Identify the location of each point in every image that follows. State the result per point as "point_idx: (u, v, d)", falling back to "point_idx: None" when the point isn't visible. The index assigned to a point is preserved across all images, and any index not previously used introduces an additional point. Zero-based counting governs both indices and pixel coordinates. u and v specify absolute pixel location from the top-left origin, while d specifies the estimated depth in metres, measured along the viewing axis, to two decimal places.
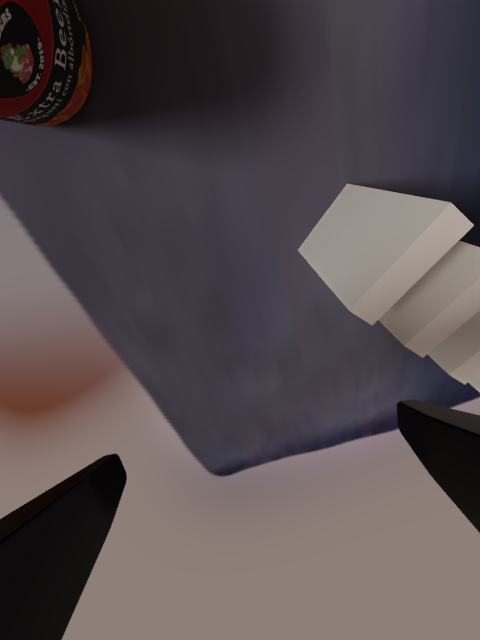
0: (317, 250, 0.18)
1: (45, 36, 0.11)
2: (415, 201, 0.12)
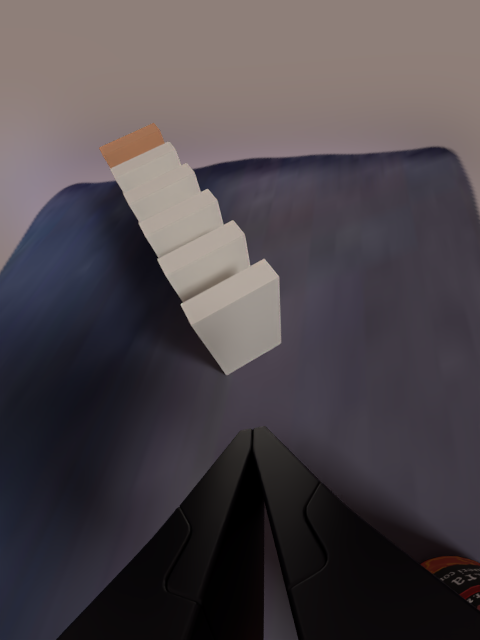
0: (270, 335, 0.21)
1: None
2: (204, 337, 0.16)
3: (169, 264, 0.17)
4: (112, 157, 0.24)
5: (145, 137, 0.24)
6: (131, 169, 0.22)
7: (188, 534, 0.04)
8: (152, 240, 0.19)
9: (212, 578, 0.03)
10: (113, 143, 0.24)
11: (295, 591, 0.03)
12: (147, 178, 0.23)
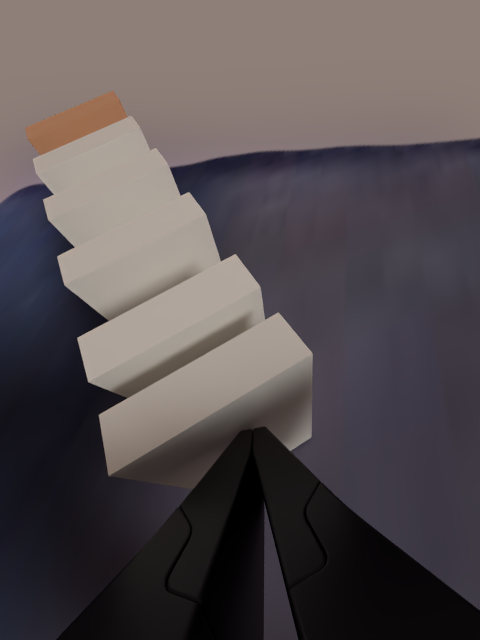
0: (293, 435, 0.12)
1: None
2: (156, 478, 0.08)
3: (100, 352, 0.08)
4: (44, 142, 0.15)
5: (97, 111, 0.16)
6: (64, 159, 0.13)
7: (188, 534, 0.04)
8: (82, 289, 0.10)
9: (212, 578, 0.03)
10: (48, 121, 0.16)
11: (295, 591, 0.03)
12: None
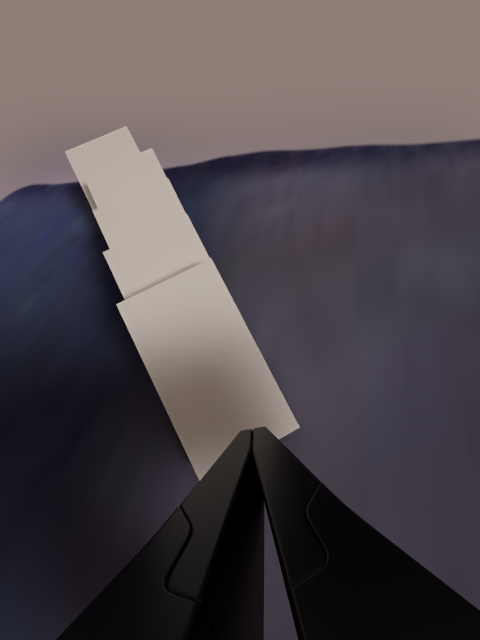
0: (255, 384, 0.14)
1: None
2: (135, 334, 0.14)
3: None
4: None
5: None
6: (82, 145, 0.23)
7: (188, 534, 0.04)
8: (99, 215, 0.18)
9: (212, 578, 0.03)
10: None
11: (295, 591, 0.03)
12: (96, 151, 0.23)
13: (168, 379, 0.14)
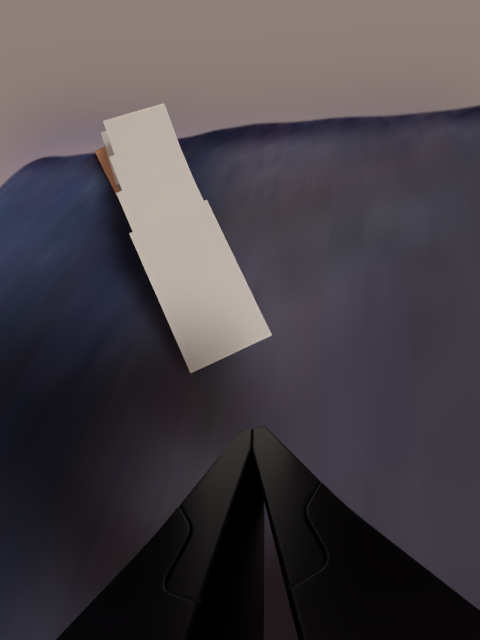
0: (237, 300, 0.17)
1: None
2: (143, 257, 0.17)
3: None
4: (100, 150, 0.31)
5: None
6: None
7: (188, 534, 0.04)
8: (114, 161, 0.21)
9: (212, 578, 0.03)
10: None
11: (295, 591, 0.03)
12: None
13: (168, 293, 0.17)
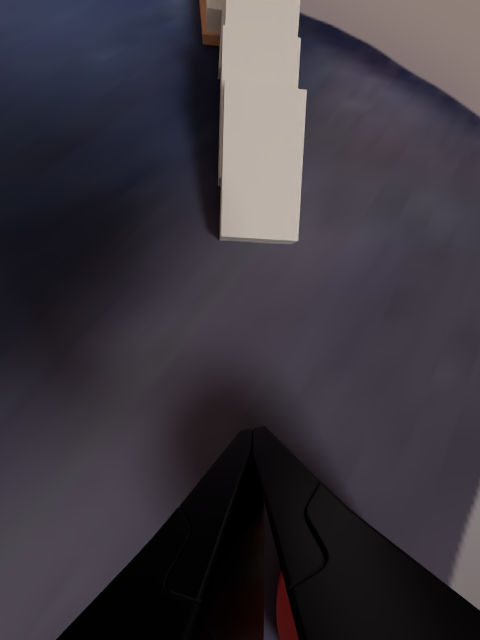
0: (286, 197, 0.19)
1: None
2: (227, 110, 0.18)
3: None
4: None
5: None
6: None
7: (188, 534, 0.04)
8: None
9: (212, 578, 0.03)
10: None
11: (295, 590, 0.03)
12: None
13: (233, 157, 0.18)
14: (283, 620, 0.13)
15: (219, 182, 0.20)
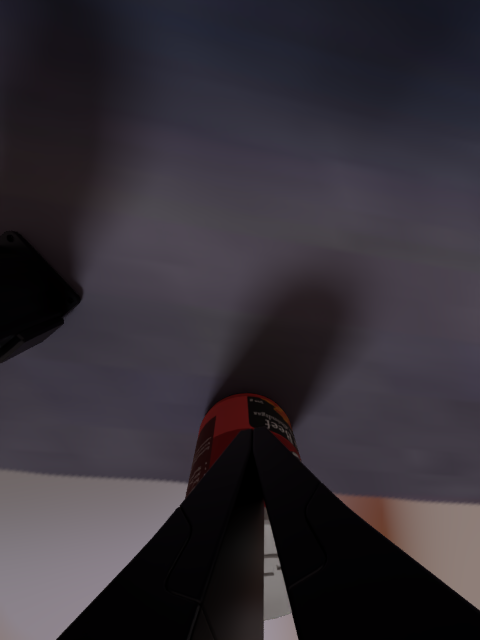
0: None
1: (289, 446, 0.18)
2: None
3: None
4: None
5: None
6: None
7: (188, 534, 0.04)
8: None
9: (212, 578, 0.03)
10: None
11: (295, 591, 0.03)
12: None
13: None
14: (230, 407, 0.21)
15: None
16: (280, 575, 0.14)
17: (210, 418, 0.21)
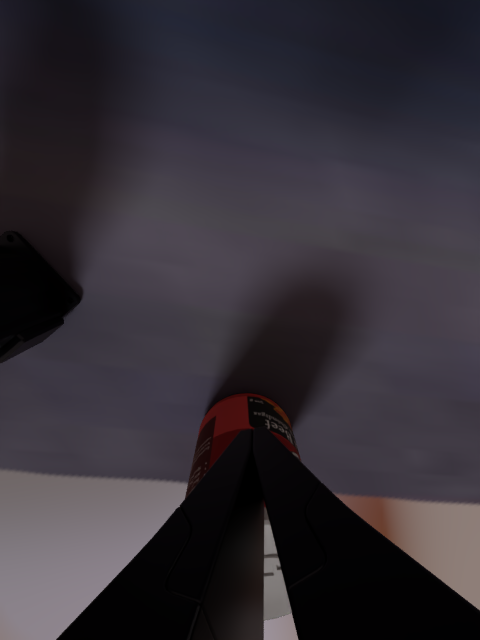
0: None
1: (289, 446, 0.18)
2: None
3: None
4: None
5: None
6: None
7: (188, 534, 0.04)
8: None
9: (212, 578, 0.03)
10: None
11: (295, 591, 0.03)
12: None
13: None
14: (230, 407, 0.21)
15: None
16: (280, 575, 0.14)
17: (210, 418, 0.21)
